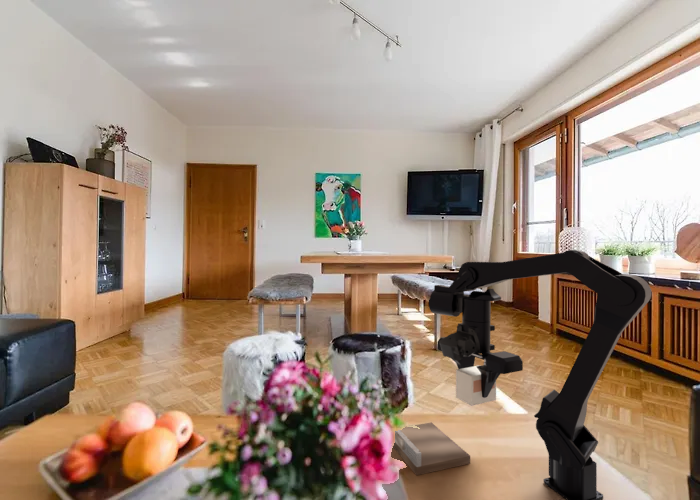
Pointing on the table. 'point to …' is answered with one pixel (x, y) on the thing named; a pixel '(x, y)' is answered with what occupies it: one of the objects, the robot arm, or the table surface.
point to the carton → (472, 386)
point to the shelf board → (428, 449)
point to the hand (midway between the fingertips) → (475, 392)
